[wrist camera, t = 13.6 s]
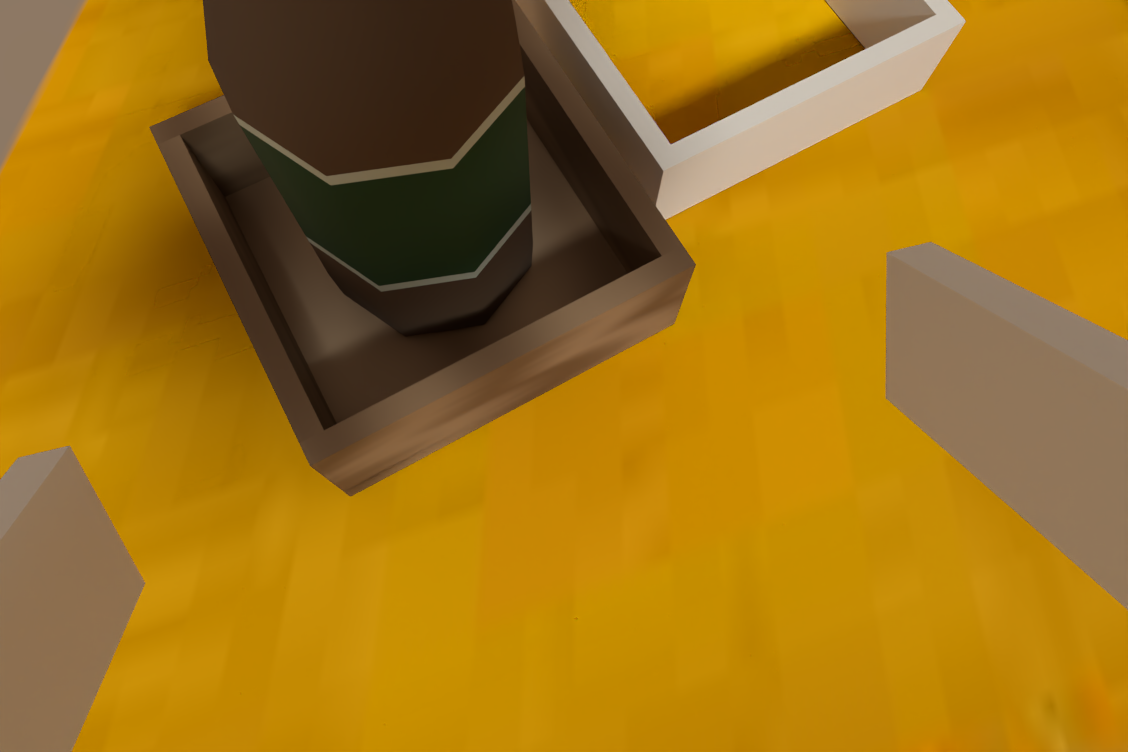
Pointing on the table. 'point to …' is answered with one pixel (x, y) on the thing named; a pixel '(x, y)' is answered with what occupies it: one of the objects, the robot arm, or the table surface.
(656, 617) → the table surface
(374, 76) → the beer bottle
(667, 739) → the table surface
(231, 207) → the wooden bin
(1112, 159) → the table surface
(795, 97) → the white corral
